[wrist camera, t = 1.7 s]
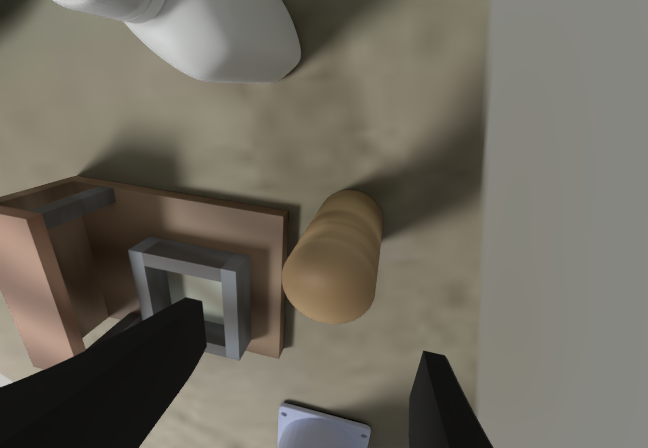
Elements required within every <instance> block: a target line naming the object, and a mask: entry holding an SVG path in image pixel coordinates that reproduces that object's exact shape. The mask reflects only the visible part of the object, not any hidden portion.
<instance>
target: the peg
mask: <svg viewBox="0 0 648 448" xmlns="http://www.w3.org/2000/svg"><path fill="white" fill-rule="evenodd" d="M382 230H383V214H382V211H381V209H380V207H379V205H378V204H377V203H376V201H375V200H374V199H372V198H371V197H370V196H368V195H367V194H365V193H363V192H360V191H356V190H343V191H339V192H336V193H334V194H332V195H331V196H330V197H328V198H327V199H326V200H325V202H324V203H323V205H322V206H321V208H320V209H319V211H318V212H317V214H316V216H315V217H314V219H313V220H312V222H311V223H310V225H309V226H308V228H307V229H306V231H305V233H304V234H303V236H302V237H301V239H300V240H299V242H298V243H297V245H296V247H295V248H294V250H293V251H292V253H291V254H290V256H289V257H288V259H287V261H286V262H285V264H284V267H283V270H282V285H283V289H284V292H285V294H286V296H287V298H288V299H289V301H290V302H291V303H292V305H293V306H294V307H295V308H296V309H297V310H299V311H300V312H301V313H302V314H304V315H306V316H307V317H309V318H311V319H314V320H316V321H319V322H323V323H329V324H341V323H347V322H350V321H353V320H355V319H357V318H359V317H361V316H362V315H363V314H364V313H365V312H366V311H367V310H368V309H369V308H370V306H371V304H372V302H373V300H374V296H375V289H376V281H377V272H378V264H379V255H380V247H381V239H382Z"/></svg>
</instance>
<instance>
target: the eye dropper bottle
mask: <svg viewBox="0 0 648 448" xmlns="http://www.w3.org/2000/svg"><path fill="white" fill-rule="evenodd" d="M53 1H54V2H55V3H57V4H59V5H60V6H64V7H65V8H69V9H73V10H77V11H81V12H86V13H90V14H94V15H99V16H103V17H107V18H112V19H116V20H121V21H124V23H125V24H126V25H127V26H128V27H129V28H130V29H131V31H132V32H133V33H134V34H135V35H136V36H137V37H138V38H139V39H140V40H141V41H142V42H143V43H144V44H145V45H146V46H148V47H149V48H150V49H151V50H152V51H153V52H155V53H156V54H157V55H158V56H160V57H161V58H162V59H163V60H165V61H166V62H168V63H169V64H171V65H172V66H173V67H175V68H176V69H178V70H180V71H181V72H183V73H185V74H187V75H189V76H191V77H193V78H194V79H198V80H203V81H208V82H222V83H276V82H278V81H280V80H281V79H282V78H283V77H284V76H286V75H287V74H288V73H289V72H290V71H291V70H292V69H293V68H295V67H296V66H297V64H298V63H299V61H300V59H301V49H300V44H299V39H298V36H297V33H296V30H295V27H294V24H293V21H292V19H291V17H290V15H289V12H288V10H287V9H286V7H285V5H284V3H283V2H282V0H53Z"/></svg>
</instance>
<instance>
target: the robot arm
mask: <svg viewBox="0 0 648 448" xmlns="http://www.w3.org/2000/svg"><path fill="white" fill-rule="evenodd" d="M206 347H207V342H206V332H205V322H204V312H203V302H202V301H201V300H196V299H192V298H187V297H185V298H183V299H181V300H179V301H178V302H176V303H174V304H172V305H170V306H168V307H166V308H165V309H163V310H161V311H159V312H157V313H156V314H154V315H152V316H150V317H148V318H147V319H145V320H143V321H141V322H139V323H137V324H136V325H134V326H132V327H130V328H128V329H126V330H125V331H123V332H121V333H119V334H117V335H115V336H113V337H111V338H109V339H107V340H105V341H103V342H101V343H99V344H97V345H95V346H93V347H91V348H89V349H87V350H85V351H83V352H82V353H80V354H78V355H75V356H73V357H71V358H69V359H67V360H65V361H63V362H60V363H58V364H56V365H54V366H52V367H49V368H47V369H45V370H42V371H40V372H38V373H35V374H33V375H31V376H28V377H26V378H23V379H21V380H19V381H16V382H13V383H11V384H8V385H6V386H3V387H0V448H139V447H140V445H141V444H142V442H143V441H144V439H145V438H146V437H147V435H148V434H149V433H150V431H151V430H152V428H153V427H154V426H155V424H156V423H157V422H158V420H159V419H160V418H161V416H162V415H163V413H164V412H165V411H166V409H167V408H168V407H169V405H170V404H171V402H172V401H173V400H174V398H175V397H176V395H177V394H178V393H179V391H180V390H181V389H182V387H183V386H184V384H185V383H186V381H187V380H188V379H189V377H190V376H191V374H192V372H193V371H194V369H195V367H196V366H197V364H198V362H199V360H200V358H201V356H202V355H203V353H204V351H205V349H206ZM370 434H371V428H370V427H369V426H368V425H365V424H362V423H358V422H354V421H350V420H347V419H343V418H339V417H336V416H332V415H328V414H325V413H321V412H317V411H313V410H310V409H306V408H302V407H299V406H295V405H291V404H288V403H282V404H281V405H280V407H279V423H278V447H277V448H367V447H368V443H369V438H370ZM409 445H410V448H493V446H492V445H491V443H490V441H489V440H488V438H487V436H486V434H485V432H484V430H483V428H482V427H481V425H480V423H479V421H478V419H477V418H476V416H475V414H474V412H473V410H472V408H471V406H470V404H469V403H468V401H467V399H466V397H465V395H464V393H463V391H462V389H461V387H460V385H459V383H458V381H457V379H456V376H455V374H454V372H453V370H452V368H451V366H450V364H449V361H448V359H447V358H446V356H445V355H441V354H436V353H432V352H427V351H423V354H422V357H421V360H420V364H419V367H418V371H417V374H416V377H415V381H414V384H413V387H412V391H411V394H410V401H409Z"/></svg>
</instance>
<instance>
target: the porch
mask: <svg viewBox="0 0 648 448" xmlns="http://www.w3.org/2000/svg"><path fill="white" fill-rule="evenodd" d="M288 212H289V211H287V210H281V209H275V208H269V207H263V206H257V205H251V204H245V203H238V202H232V201H226V200H220V199H214V198H208V197H202V196H196V195H190V194H184V193H178V192H172V191H166V190H160V189H154V188H148V187H142V186H136V185H130V184H124V183H118V182H112V181H106V180H100V179H94V178H88V177H82V176H73V177H70V178H66V179H63V180H59V181H56V182H52V183H48V184H45V185H41V186H38V187H34V188H31V189H27V190H24V191H20V192H16V193H13V194H9V195H6V196H2V197H0V290H1V292H2V295H3V297H4V299H5V302H6V304H7V306H8V308H9V311H10V313H11V315H12V318H13V320H14V322H15V325H16V327H17V329H18V332H19V334H20V336H21V339H22V341H23V343H24V345H25V348H26V350H27V352H28V355H29V357H30V359H31V362H32V364H33V366H34V367H37V368H40V369H44V370H45V369H47V368H49V367H52V366H54V365H56V364H58V363H60V362H63V361H65V360H67V359H69V358H71V357H73V356H75V355H78V354H80V353H82V352H83V351H85V350H87V349H89V348H91V347H93V346H95V345H97V344H99V343H101V342H103V341H105V340H107V339H109V338H111V337H113V336H115V335H117V334H119V333H121V332H123V331H125V330H126V329H128V328H130V327H132V326H134V325H136V324H137V323H139V322H141V321H143V320H145V319H147V318H148V317H150V316H152V315H154V314H156V313H157V312H159V311H161V310H163V309H165V308H166V307H168V306H170V305H172V304H174V303H176V302H178V301H179V300H181V299H183V298H185V297H187V298H192V299H196V300H201V301H202V302H203V312H204V322H205V332H206V342H207V347H206V349H205V351H204V352H207V353H211V354H215V355H219V356H223V357H227V358H231V359H235V360H239V361H240V359H241V357H242V355H243V354H244V352H245V351H249V352H253V353H257V354H261V355H265V356H269V357H274V358H278V359H279V357H280V355H281V353H282V351H283V341H284V315H285V292H284V289H283V285H282V270H283V267H284V264H285V262H286V261H287V238H288ZM108 317H112V318H116V319H120V320H121V321H119V322H118V323H117V324H116V325H115V326H113V327H112V328H111V329H110V330H109V331H108V332H106V333H105V334H104V335H103V336H102V337H100V338H99V339H98V340H97V341H96V342H95V343H93V344H92V345H91V346H90V347H89V348H87V349H85V346H84V343H83V340H82V338H83V337H84V336H85V335H87V334H88V333H89V332H90V331H92V330H93V329H94V328H95V327H97V326H98V325H99V324H100V323H102V322H103V321H104V320H105V319H107V318H108Z"/></svg>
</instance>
